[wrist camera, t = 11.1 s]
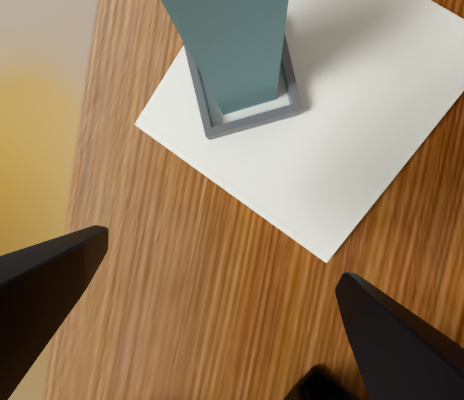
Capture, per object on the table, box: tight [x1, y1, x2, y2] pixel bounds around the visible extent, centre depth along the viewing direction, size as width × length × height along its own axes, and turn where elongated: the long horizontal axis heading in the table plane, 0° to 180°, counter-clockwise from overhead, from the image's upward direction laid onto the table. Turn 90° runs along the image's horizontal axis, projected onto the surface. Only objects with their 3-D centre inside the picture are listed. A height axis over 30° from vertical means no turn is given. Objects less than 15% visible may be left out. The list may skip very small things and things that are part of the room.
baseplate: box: [134, 0, 464, 263], centre depth 19 cm, size 20×20×1 cm
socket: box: [183, 32, 303, 140], centre depth 18 cm, size 8×8×1 cm
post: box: [161, 0, 289, 115], centre depth 13 cm, size 4×4×13 cm
